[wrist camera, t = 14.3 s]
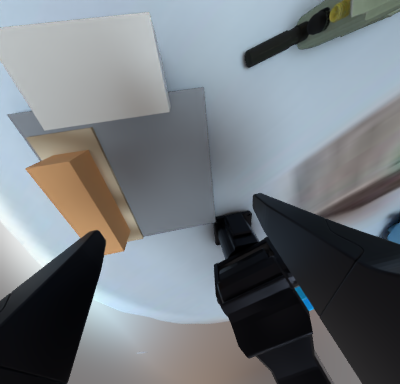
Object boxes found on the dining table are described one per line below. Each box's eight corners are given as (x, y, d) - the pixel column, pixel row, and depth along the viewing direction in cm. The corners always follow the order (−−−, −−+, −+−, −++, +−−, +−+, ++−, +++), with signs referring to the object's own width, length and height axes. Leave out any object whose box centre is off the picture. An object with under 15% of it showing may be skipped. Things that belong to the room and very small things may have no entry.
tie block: (170, 106, 15) (169, 111, 9) (98, 117, 15) (44, 130, 8) (160, 52, 13) (149, 11, 7) (74, 63, 12) (-20, 29, 6)
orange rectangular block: (130, 230, 22) (124, 251, 19) (105, 235, 22) (95, 256, 19) (88, 149, 16) (68, 161, 13) (53, 155, 16) (25, 168, 13)
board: (214, 218, 25) (215, 222, 24) (103, 240, 24) (100, 245, 23) (202, 87, 16) (203, 87, 15) (16, 113, 15) (6, 114, 14)
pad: (143, 236, 24) (143, 238, 23) (104, 244, 23) (103, 246, 23) (92, 127, 15) (90, 127, 15) (28, 136, 15) (25, 137, 14)
